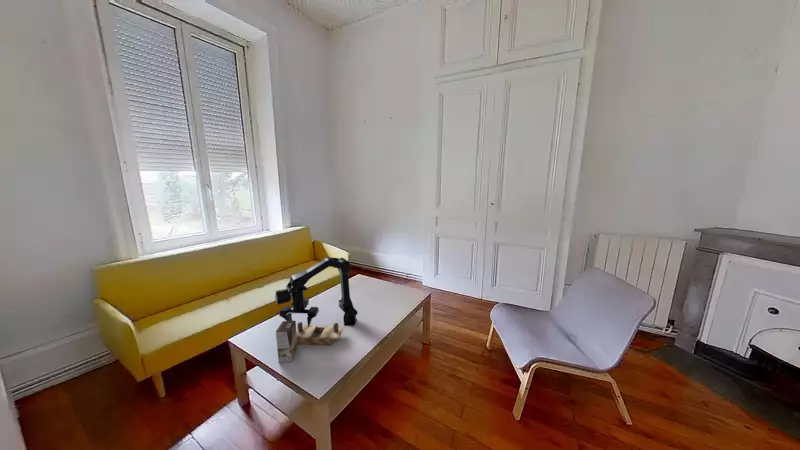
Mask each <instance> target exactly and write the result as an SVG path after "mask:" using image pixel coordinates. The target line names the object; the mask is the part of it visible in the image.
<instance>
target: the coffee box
mask: <svg viewBox="0 0 800 450" xmlns="http://www.w3.org/2000/svg"><path fill="white" fill-rule="evenodd" d="M296 321H297V320H292V321H286V320H283V321H282V322H281V323H280V324H279V326H278V328H277V329H276V331H275V337H276V338H275V339H276V349H277V360H278V363H292V362H293V360H294V358H295V356H296V354H297V351H298V350H299V349H298V345H297V334H296V328H297V324H296V323H297V322H296Z"/></svg>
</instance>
